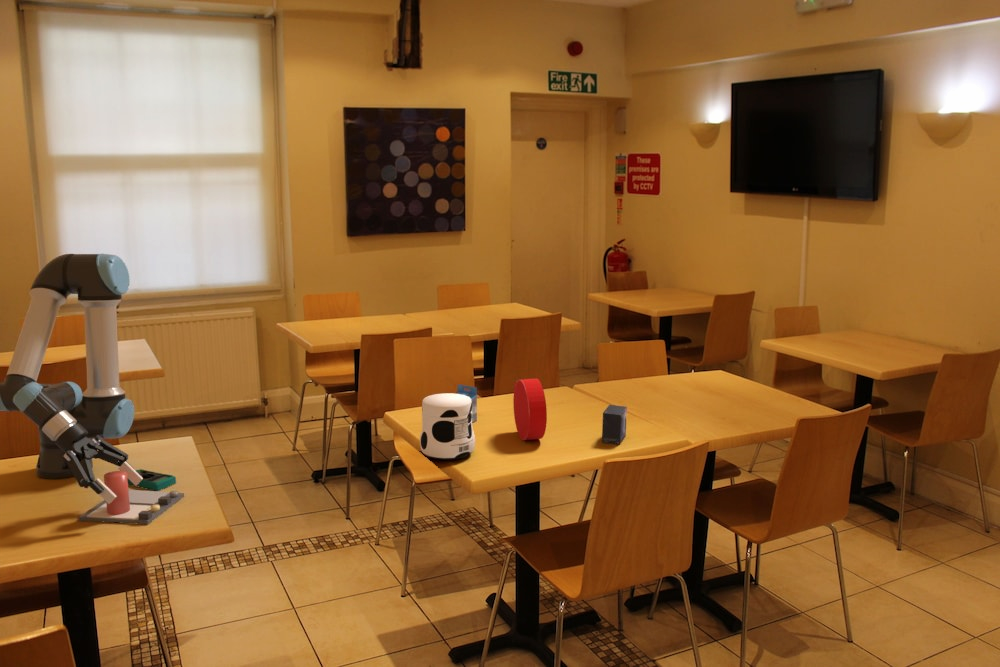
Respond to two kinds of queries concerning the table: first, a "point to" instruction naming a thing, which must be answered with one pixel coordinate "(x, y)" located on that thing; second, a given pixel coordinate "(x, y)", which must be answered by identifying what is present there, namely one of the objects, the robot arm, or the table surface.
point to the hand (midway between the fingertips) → (126, 491)
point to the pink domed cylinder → (118, 492)
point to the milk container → (447, 426)
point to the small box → (614, 424)
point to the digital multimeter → (154, 480)
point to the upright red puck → (530, 409)
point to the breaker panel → (136, 507)
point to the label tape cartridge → (472, 395)
